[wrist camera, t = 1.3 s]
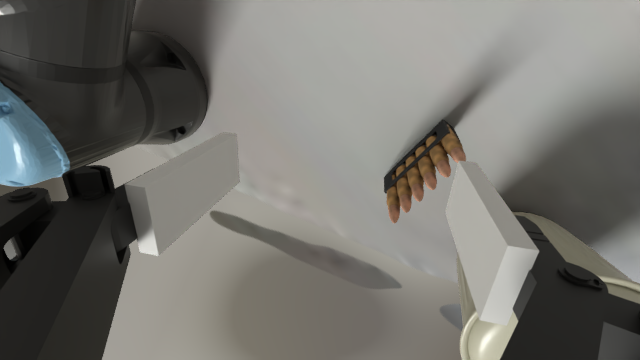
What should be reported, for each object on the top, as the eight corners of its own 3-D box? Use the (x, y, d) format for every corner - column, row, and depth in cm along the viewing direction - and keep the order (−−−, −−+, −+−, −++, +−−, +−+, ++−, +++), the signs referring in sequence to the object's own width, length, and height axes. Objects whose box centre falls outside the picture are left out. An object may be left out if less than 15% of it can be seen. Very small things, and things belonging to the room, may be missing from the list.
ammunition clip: (393, 185, 43) (394, 233, 32) (383, 177, 43) (381, 222, 32) (454, 128, 38) (478, 162, 27) (443, 119, 38) (463, 148, 27)
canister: (530, 313, 46) (626, 498, 28) (416, 270, 48) (434, 419, 29) (616, 219, 38) (834, 388, 20) (477, 169, 40) (556, 284, 21)
